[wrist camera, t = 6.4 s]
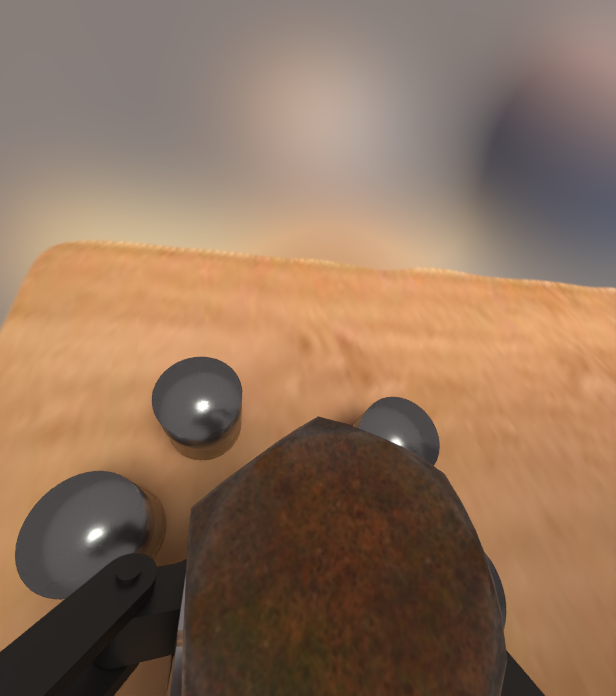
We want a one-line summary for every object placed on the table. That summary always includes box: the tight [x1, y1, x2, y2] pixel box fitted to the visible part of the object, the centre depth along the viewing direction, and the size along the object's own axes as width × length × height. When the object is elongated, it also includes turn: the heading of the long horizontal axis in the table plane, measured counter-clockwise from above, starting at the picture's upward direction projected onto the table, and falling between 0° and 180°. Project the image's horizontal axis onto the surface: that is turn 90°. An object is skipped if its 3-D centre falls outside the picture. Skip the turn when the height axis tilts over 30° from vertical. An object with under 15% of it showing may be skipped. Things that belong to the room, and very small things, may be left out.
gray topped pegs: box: [15, 357, 506, 630], centre depth 16 cm, size 19×19×5 cm
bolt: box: [181, 417, 507, 696], centre depth 11 cm, size 6×5×15 cm
